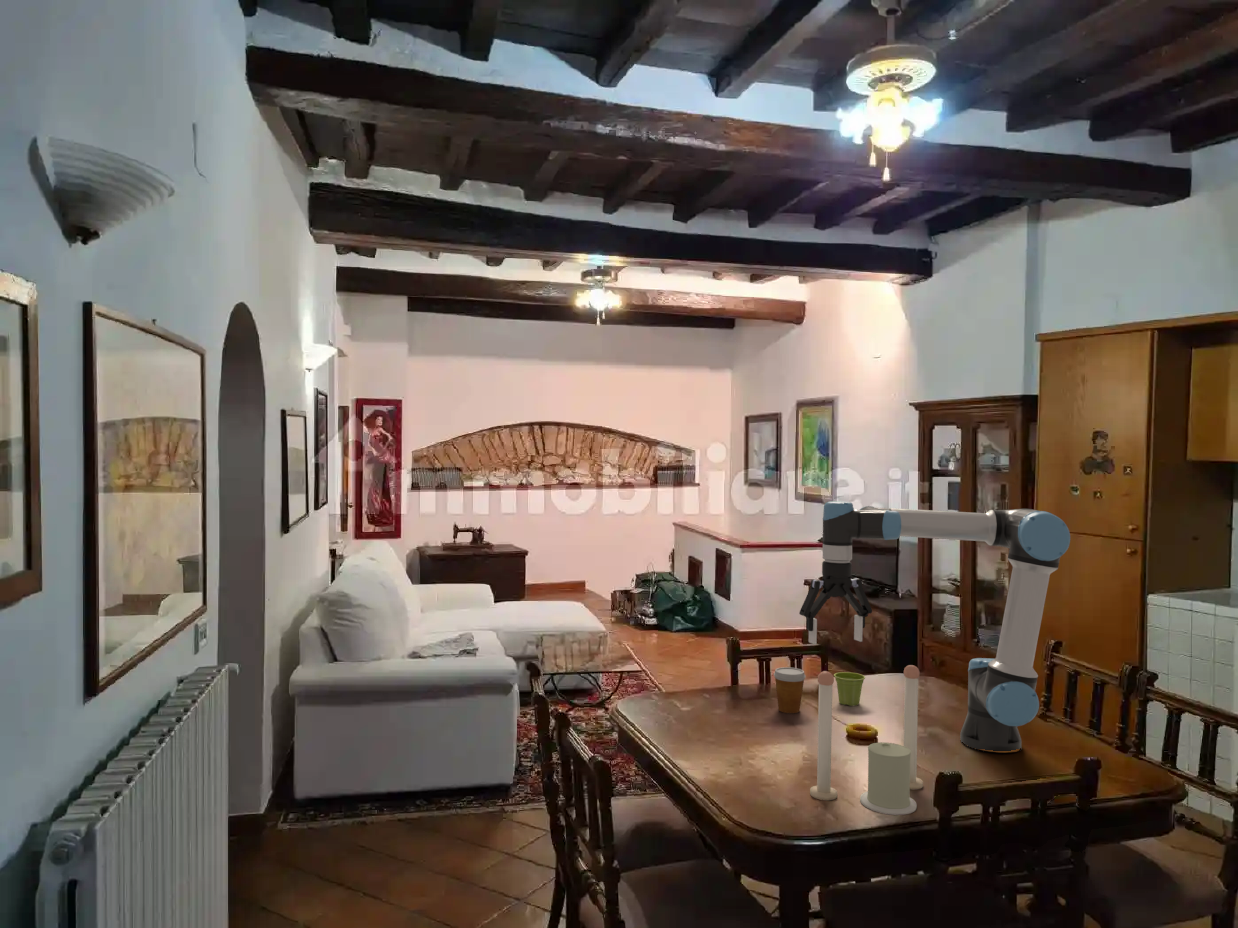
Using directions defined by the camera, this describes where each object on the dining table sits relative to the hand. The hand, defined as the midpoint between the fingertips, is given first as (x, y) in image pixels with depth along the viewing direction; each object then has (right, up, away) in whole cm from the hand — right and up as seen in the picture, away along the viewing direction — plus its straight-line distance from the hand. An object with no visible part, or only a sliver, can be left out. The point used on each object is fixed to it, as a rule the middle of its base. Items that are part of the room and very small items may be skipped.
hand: (835, 641), depth 222 cm
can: (+4, -29, -32) cm, 44 cm away
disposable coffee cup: (-5, -28, +35) cm, 46 cm away
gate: (+1, -29, -25) cm, 38 cm away
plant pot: (+15, -29, +44) cm, 54 cm away
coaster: (+3, -29, -32) cm, 44 cm away
